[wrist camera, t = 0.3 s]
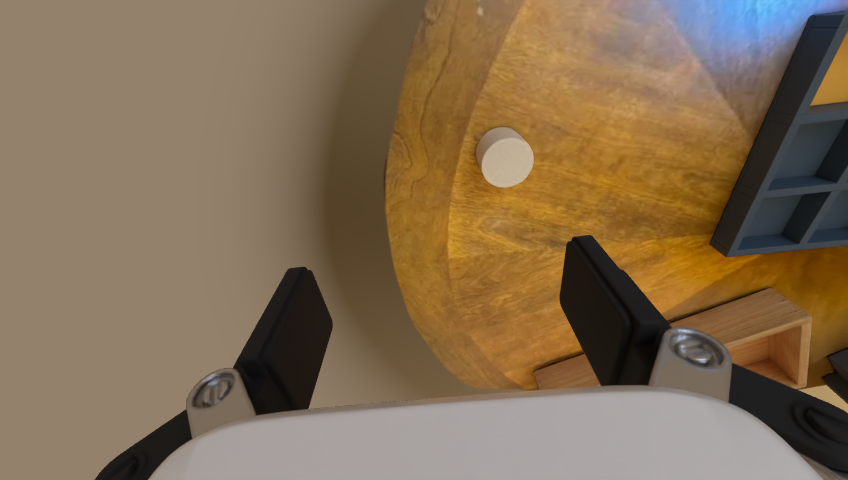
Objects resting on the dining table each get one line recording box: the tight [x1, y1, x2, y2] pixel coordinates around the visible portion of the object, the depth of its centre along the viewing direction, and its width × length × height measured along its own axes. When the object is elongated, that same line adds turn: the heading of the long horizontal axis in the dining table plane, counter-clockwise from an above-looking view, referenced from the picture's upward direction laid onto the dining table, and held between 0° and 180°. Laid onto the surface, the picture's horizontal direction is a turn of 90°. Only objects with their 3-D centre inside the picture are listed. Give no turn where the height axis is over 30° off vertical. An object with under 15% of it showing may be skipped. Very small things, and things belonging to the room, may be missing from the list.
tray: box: [533, 288, 812, 390], centre depth 45 cm, size 31×15×6 cm, turn 121°
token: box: [476, 127, 534, 188], centre depth 29 cm, size 4×4×3 cm
